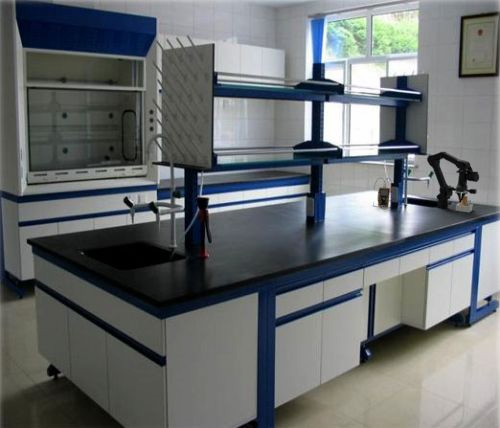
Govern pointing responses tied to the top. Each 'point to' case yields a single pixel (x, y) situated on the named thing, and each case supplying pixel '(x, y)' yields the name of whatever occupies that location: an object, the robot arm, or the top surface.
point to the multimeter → (383, 195)
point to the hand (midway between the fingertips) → (460, 202)
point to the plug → (464, 201)
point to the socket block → (464, 208)
